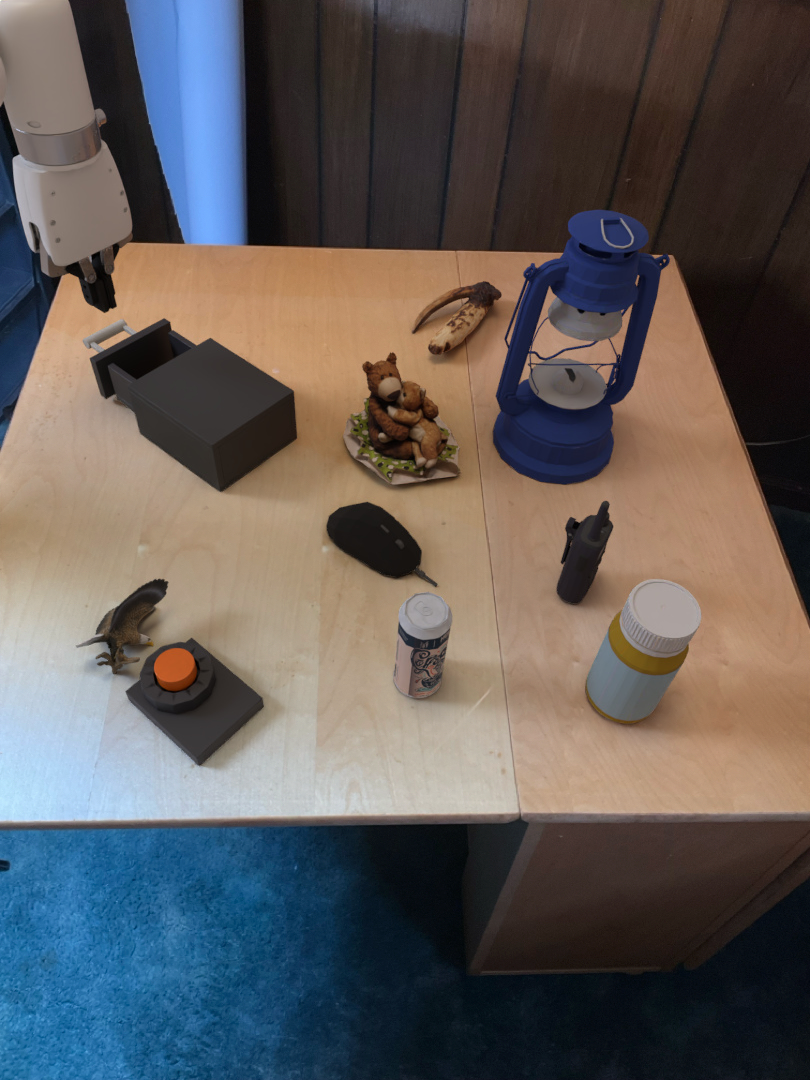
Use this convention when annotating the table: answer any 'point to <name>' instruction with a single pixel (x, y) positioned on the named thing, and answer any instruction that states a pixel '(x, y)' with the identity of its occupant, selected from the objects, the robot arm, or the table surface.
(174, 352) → the open drawer
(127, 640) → the eagle figurine
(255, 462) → the black drawer box
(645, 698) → the bottle
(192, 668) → the button
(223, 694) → the control block
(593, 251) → the lantern
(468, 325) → the lashed bone hook
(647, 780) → the table surface
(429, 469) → the bear figurine
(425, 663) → the beer can
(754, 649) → the table surface
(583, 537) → the two-way radio
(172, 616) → the table surface
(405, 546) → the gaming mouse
